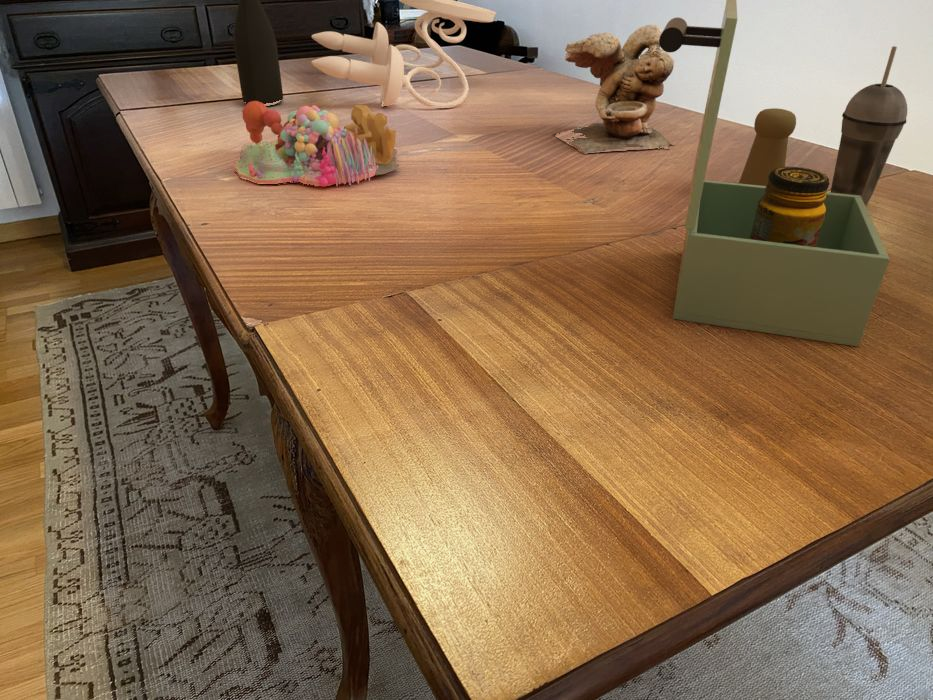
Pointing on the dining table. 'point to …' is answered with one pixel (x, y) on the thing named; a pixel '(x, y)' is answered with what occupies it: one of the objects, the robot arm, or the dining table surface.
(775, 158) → the brown knobbed peg
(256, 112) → the pastel sphere sculpture
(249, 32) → the wine bottle
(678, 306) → the bin
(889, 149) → the beverage cup
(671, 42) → the bin lid
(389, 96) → the candelabra
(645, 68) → the cherub figurine
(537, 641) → the dining table surface
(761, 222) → the condiment
